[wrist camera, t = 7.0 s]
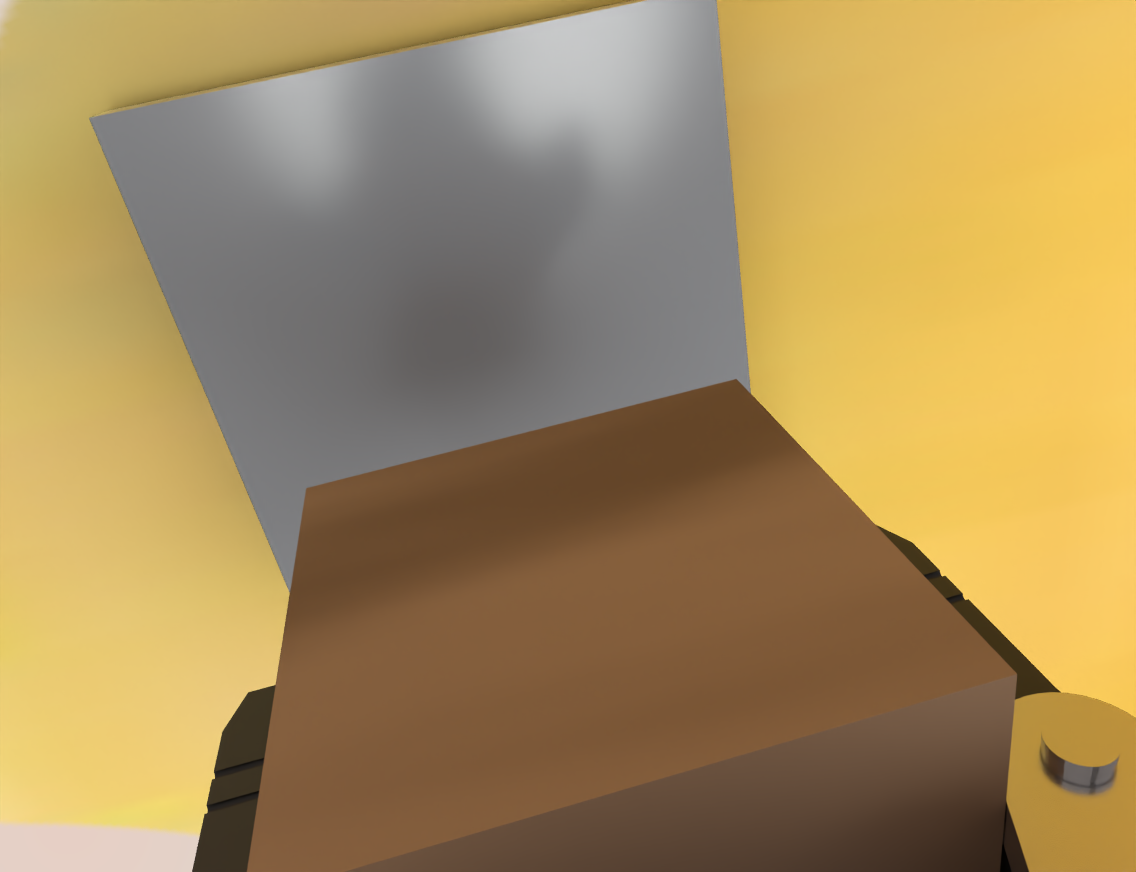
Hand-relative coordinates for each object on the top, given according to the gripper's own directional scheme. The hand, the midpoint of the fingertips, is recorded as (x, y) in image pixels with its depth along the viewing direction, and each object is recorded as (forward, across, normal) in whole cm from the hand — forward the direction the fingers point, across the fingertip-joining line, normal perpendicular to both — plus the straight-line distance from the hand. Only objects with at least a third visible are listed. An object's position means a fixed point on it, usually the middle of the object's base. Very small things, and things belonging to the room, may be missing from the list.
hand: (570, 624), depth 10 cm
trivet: (+11, 0, 0) cm, 11 cm away
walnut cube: (0, 0, 0) cm, 0 cm away
